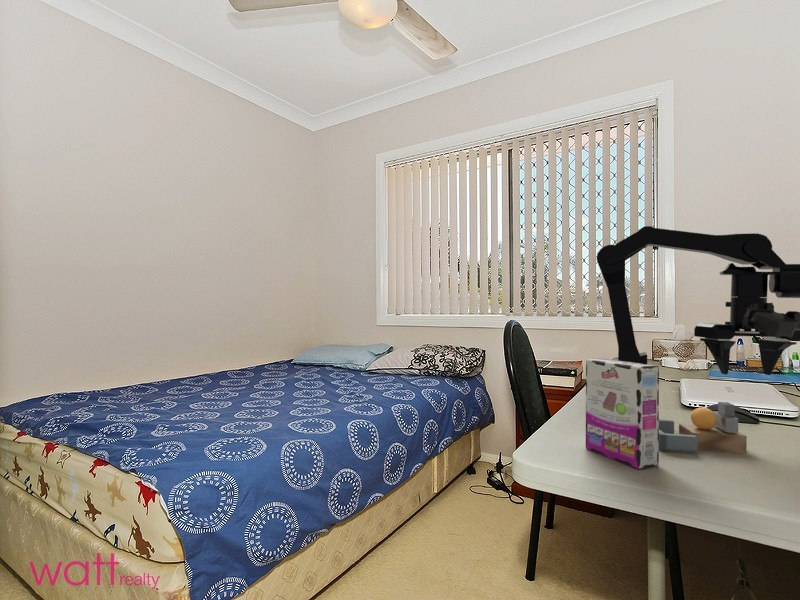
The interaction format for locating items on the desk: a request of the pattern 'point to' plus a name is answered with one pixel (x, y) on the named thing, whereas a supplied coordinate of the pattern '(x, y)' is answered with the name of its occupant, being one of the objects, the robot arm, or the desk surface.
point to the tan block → (716, 439)
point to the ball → (703, 418)
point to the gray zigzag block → (726, 417)
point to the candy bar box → (623, 411)
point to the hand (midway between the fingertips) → (746, 374)
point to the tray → (675, 439)
